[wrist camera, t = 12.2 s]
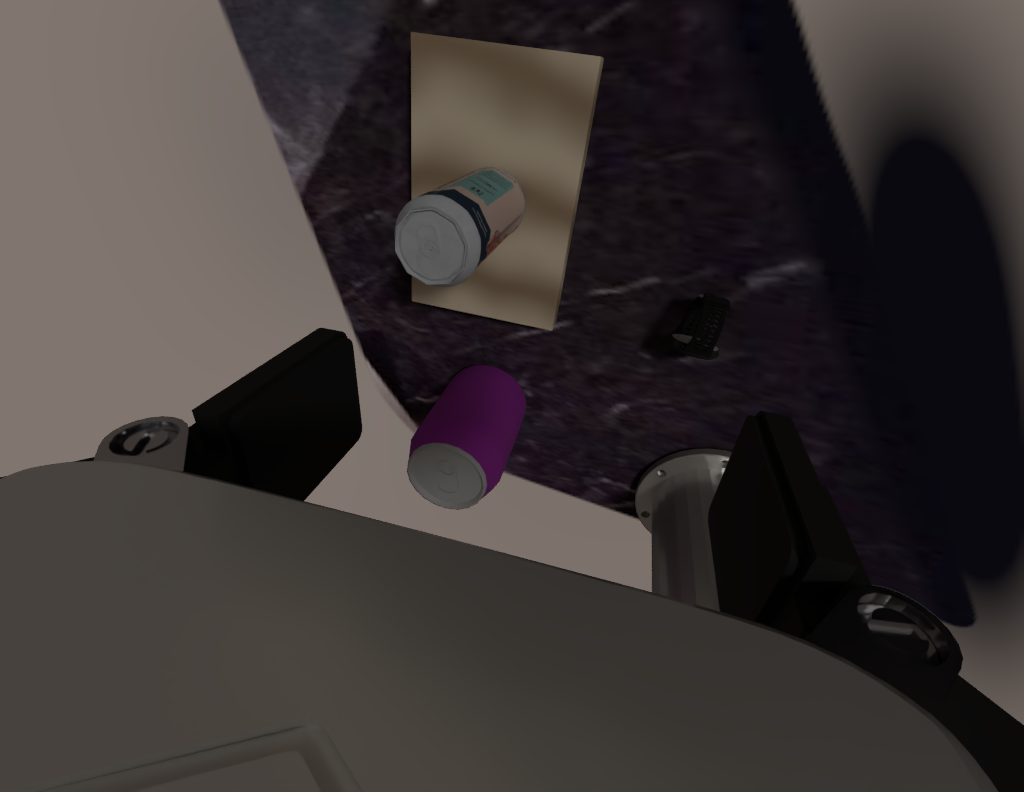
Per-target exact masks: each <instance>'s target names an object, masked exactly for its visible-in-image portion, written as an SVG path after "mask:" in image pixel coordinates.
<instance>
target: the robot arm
mask: <svg viewBox="0 0 1024 792" xmlns="http://www.w3.org/2000/svg"><path fill="white" fill-rule="evenodd" d="M192 412H193V415H194V418H195V421H196V423H195V424H193V425H192V426H190V427H188V425H187V423H185V422H184V421H183V420H181V419H178V418H175V417H164V416H162V417H151V418H146V419H142V420H137V421H135V422H132V423H129V424H126V425H123V426H122V427H120V428H118V429H116V430H114V431H112V432H111V433H110V434H109V435H107V436H106V437H105V438H104V439H103V441H102V442H101V443H100V445H99V447H98V450H97V453H96V455H95V457H93V458H88V459H84V460H79V461H75V462H66V463H58V464H51V465H45V466H39V467H33V468H29V469H26V470H22V471H19V472H17V473H14V474H11V475H9V476H6V477H1V478H0V792H1024V725H1022V724H1021V723H1020V722H1019V721H1017V720H1016V719H1015V718H1013V717H1012V716H1011V715H1010V714H1008V713H1007V712H1006V711H1004V710H1003V709H1001V708H1000V707H999V706H998V705H996V704H995V703H994V702H993V701H991V700H990V699H989V698H987V697H986V696H985V695H984V694H982V693H981V692H980V691H978V690H977V689H976V688H975V687H973V686H972V685H971V684H969V683H968V682H967V681H965V680H964V679H963V678H961V677H960V676H959V675H958V674H959V672H960V670H961V667H962V661H963V656H962V653H961V650H960V647H959V644H958V643H957V641H956V639H955V638H954V636H953V635H952V633H951V632H950V630H949V629H948V628H947V627H946V626H945V625H944V624H943V623H942V622H941V621H940V620H939V619H938V618H937V617H936V616H935V615H934V614H933V613H931V612H930V611H929V610H927V609H926V608H925V607H923V606H922V605H921V604H920V603H918V602H916V601H914V600H912V599H911V598H909V597H907V596H905V595H904V594H902V593H899V592H896V591H894V590H891V589H889V588H886V587H881V586H875V585H871V582H870V580H869V578H868V576H867V574H866V572H865V569H864V567H863V565H862V563H861V561H860V558H859V556H858V554H857V552H856V550H855V548H854V545H853V543H852V541H851V539H850V537H849V535H848V532H847V530H846V528H845V526H844V524H843V522H842V519H841V517H840V515H839V513H838V511H837V508H836V506H835V504H834V502H833V500H832V498H831V495H830V493H829V491H828V490H827V488H826V487H825V486H823V485H822V484H821V483H820V481H819V478H818V476H817V474H816V472H815V470H814V467H813V465H812V463H811V461H810V458H809V456H808V454H807V452H806V449H805V447H804V445H803V443H802V441H801V438H800V436H799V434H798V432H797V429H796V427H795V425H794V423H793V420H792V419H791V417H790V416H786V415H781V414H775V413H770V412H765V411H760V412H758V414H757V415H756V416H750V415H749V416H748V417H747V418H746V420H745V422H744V424H743V427H742V429H741V431H740V434H739V436H738V439H737V441H736V444H735V446H734V449H733V451H732V452H728V451H724V450H717V449H691V450H685V451H680V452H677V453H674V454H671V455H668V456H666V457H664V458H662V459H660V460H658V461H657V462H656V463H654V464H653V465H652V466H650V467H649V468H648V469H647V470H646V472H645V473H644V474H643V475H642V476H641V478H640V480H639V482H638V484H637V488H636V493H635V506H636V512H637V514H638V517H639V519H640V521H641V522H642V524H643V525H644V526H645V528H646V529H647V530H648V531H649V532H650V533H651V534H652V592H648V591H645V590H641V589H637V588H633V587H630V586H625V585H622V584H618V583H615V582H611V581H607V580H603V579H600V578H595V577H592V576H588V575H585V574H581V573H577V572H573V571H570V570H566V569H562V568H558V567H555V566H550V565H547V564H543V563H539V562H536V561H532V560H528V559H524V558H521V557H517V556H513V555H510V554H506V553H502V552H498V551H494V550H491V549H486V548H482V547H479V546H475V545H471V544H467V543H464V542H460V541H456V540H452V539H448V538H445V537H441V536H437V535H433V534H429V533H426V532H422V531H418V530H414V529H410V528H406V527H402V526H398V525H395V524H391V523H387V522H383V521H379V520H375V519H372V518H367V517H363V516H360V515H356V514H352V513H348V512H344V511H340V510H336V509H332V508H328V507H324V506H321V505H316V504H312V503H309V502H305V501H304V500H305V499H306V498H307V497H308V496H309V495H310V494H311V492H312V491H313V490H314V489H315V488H316V487H317V486H318V485H319V483H320V482H321V481H322V480H323V479H324V478H325V477H326V476H327V475H328V474H329V472H330V471H331V470H332V469H333V468H334V467H335V466H336V465H337V463H338V462H339V461H340V460H341V459H342V458H343V457H344V456H345V455H346V453H347V452H348V451H349V450H350V449H351V448H352V447H353V446H354V444H355V443H356V442H357V441H358V440H359V438H360V435H361V432H362V422H361V413H360V404H359V395H358V386H357V378H356V368H355V359H354V351H353V344H352V341H351V340H350V339H347V336H346V334H345V333H344V332H341V331H336V330H330V329H325V328H319V329H317V330H316V331H314V332H312V333H311V334H309V335H308V336H306V337H304V338H303V339H301V340H300V341H299V342H297V343H295V344H294V345H292V346H291V347H289V348H287V349H286V350H284V351H283V352H281V353H280V354H278V355H277V356H275V357H273V358H272V359H270V360H269V361H267V362H266V363H264V364H263V365H261V366H259V367H258V368H256V369H255V370H254V371H252V372H250V373H249V374H247V375H246V376H244V377H242V378H241V379H239V380H238V381H236V382H235V383H233V384H232V385H230V386H229V387H227V388H226V389H224V390H222V391H221V392H219V393H218V394H216V395H215V396H213V397H212V398H210V399H209V400H207V401H205V402H204V403H202V404H201V405H199V406H198V407H196V408H195V409H193V410H192Z"/></svg>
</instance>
